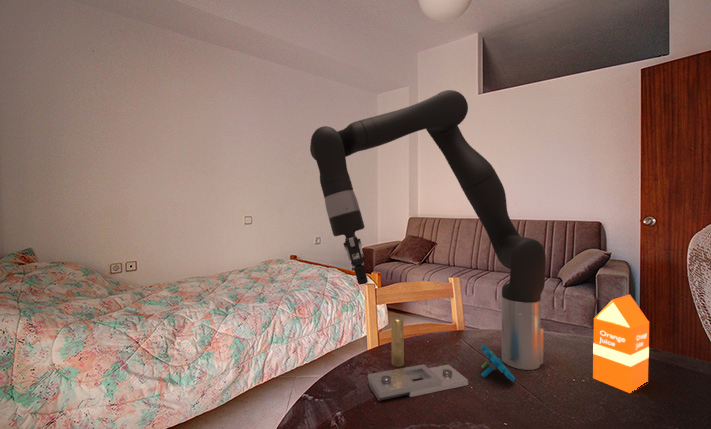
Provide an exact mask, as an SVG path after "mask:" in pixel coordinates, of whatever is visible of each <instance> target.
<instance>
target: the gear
mask: <svg viewBox="0 0 711 429" xmlns="http://www.w3.org/2000/svg"><path fill="white" fill-rule="evenodd" d="M480 350H482V351H483V354H484V355H485V356H486V357H487V358H486V361H485V362H484V363H483V364H482V365H481V366H480V367H481V369H485V368H486V367H487V366H488V365H489V366H488V367H487V368H486V369H485V370H484V371H483V372H481V374H480V375H481V376H482V377H483V378H486V377H487V376H488V375H489V374H491V373H492V371H496V370H497V369H498V370H499V371H500V373H503V374H504V376H505V377H506V378H507V379H509V380H510V381H511V382H512V383H513V382H515V381H516V377H515V375H513V374H512V372H511V371H510V370H509V368H507V367H506V366H505V365H506V364H504V362H503V361H502V358H500V357H497V356H496V355H495V353H494V352H493V351H492V350H491V349H490V348H488V347H487V346H485V344H482V345H480Z"/></svg>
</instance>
